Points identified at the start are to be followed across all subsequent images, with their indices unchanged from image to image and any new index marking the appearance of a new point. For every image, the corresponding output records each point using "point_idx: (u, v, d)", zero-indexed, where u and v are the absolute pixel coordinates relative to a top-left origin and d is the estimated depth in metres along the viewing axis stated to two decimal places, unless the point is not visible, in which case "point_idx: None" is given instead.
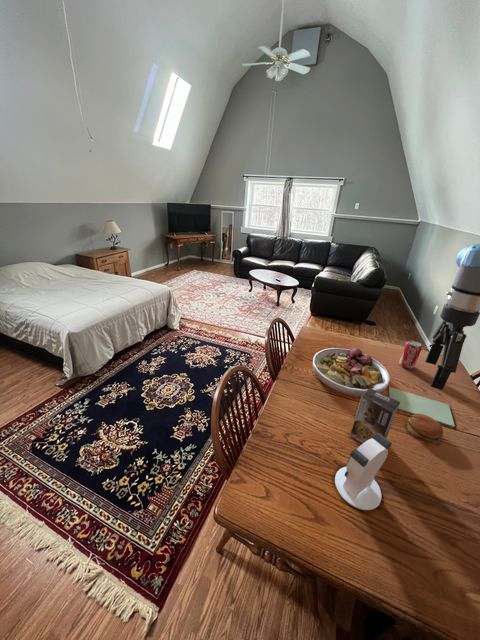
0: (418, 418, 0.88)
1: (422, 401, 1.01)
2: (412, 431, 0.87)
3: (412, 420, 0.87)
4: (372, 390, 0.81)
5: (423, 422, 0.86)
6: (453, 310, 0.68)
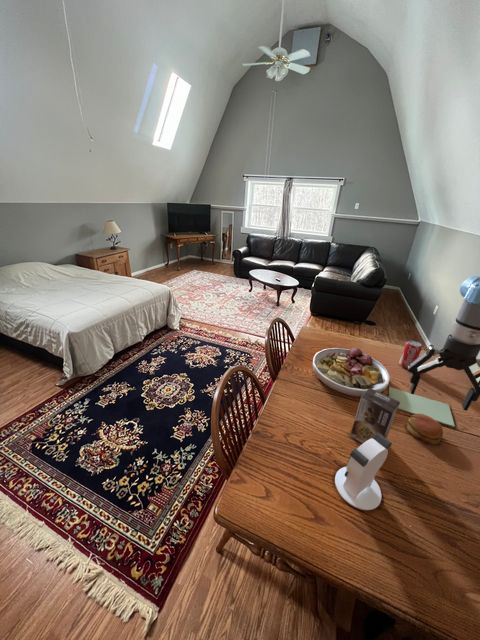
0: (418, 417, 0.88)
1: (422, 401, 1.01)
2: (412, 431, 0.87)
3: (412, 420, 0.87)
4: (372, 390, 0.81)
5: (423, 422, 0.86)
6: (479, 346, 0.70)
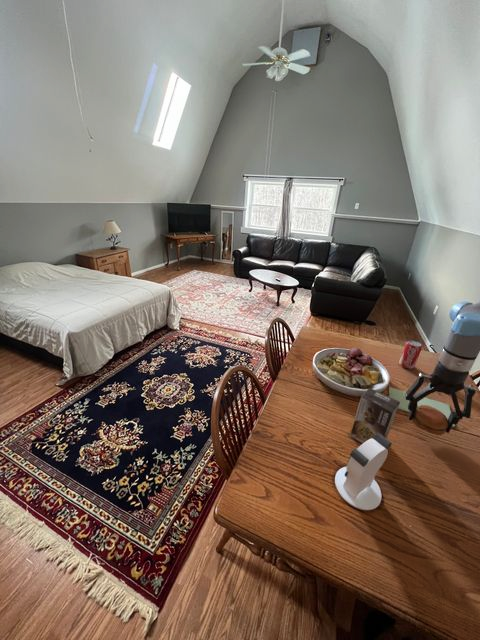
0: (422, 409, 0.86)
1: (422, 401, 1.01)
2: (417, 422, 0.85)
3: (416, 411, 0.86)
4: (372, 390, 0.81)
5: (427, 413, 0.84)
6: (466, 373, 0.74)
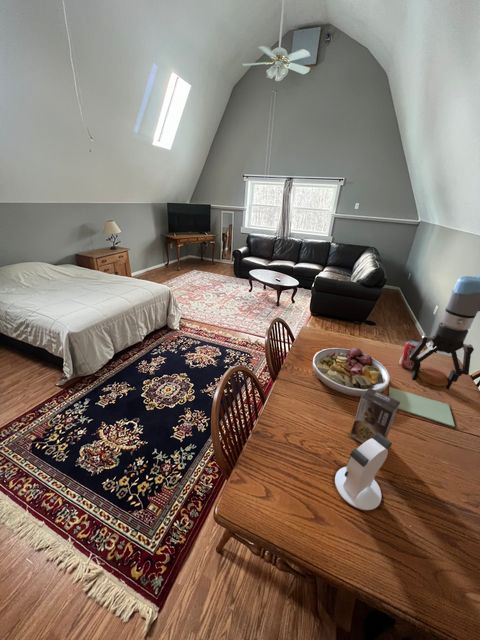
0: (425, 369, 0.94)
1: (422, 401, 1.01)
2: (419, 381, 0.93)
3: (419, 371, 0.93)
4: (372, 390, 0.81)
5: (429, 373, 0.92)
6: (465, 332, 0.82)
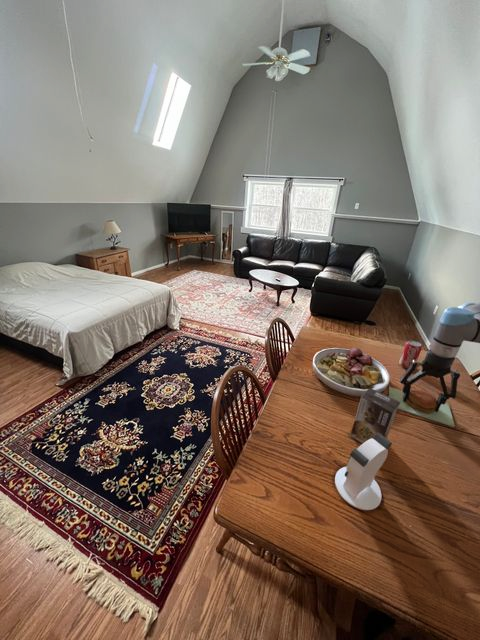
0: (415, 391, 0.99)
1: None
2: (410, 403, 0.98)
3: (410, 393, 0.98)
4: (372, 390, 0.81)
5: (419, 395, 0.97)
6: (452, 359, 0.87)
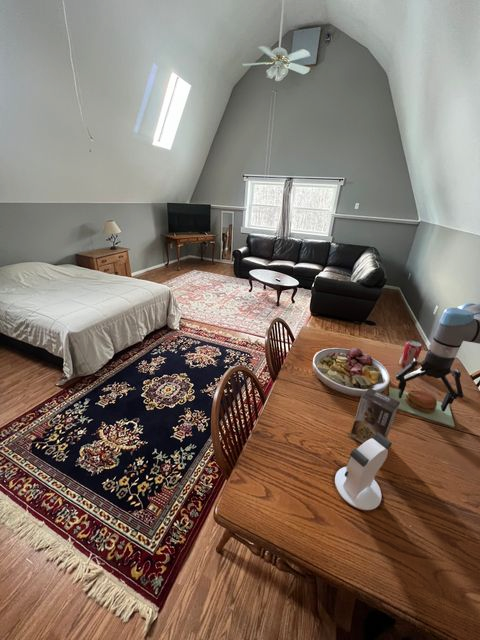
0: (415, 391, 0.99)
1: None
2: (410, 403, 0.98)
3: (410, 393, 0.98)
4: (372, 390, 0.81)
5: (419, 395, 0.97)
6: (452, 359, 0.87)
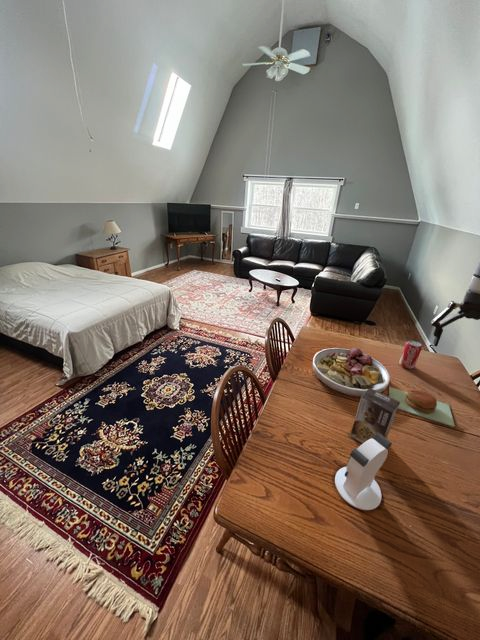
0: (415, 391, 0.99)
1: None
2: (410, 403, 0.98)
3: (410, 393, 0.98)
4: (372, 390, 0.81)
5: (419, 395, 0.97)
6: None
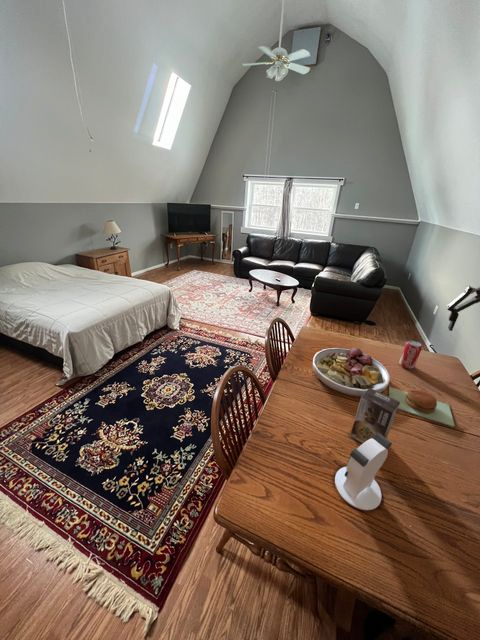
0: (415, 391, 0.99)
1: None
2: (410, 403, 0.98)
3: (410, 393, 0.98)
4: (372, 390, 0.81)
5: (419, 395, 0.97)
6: None
